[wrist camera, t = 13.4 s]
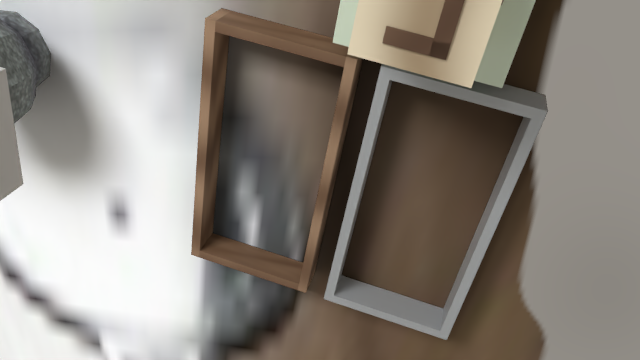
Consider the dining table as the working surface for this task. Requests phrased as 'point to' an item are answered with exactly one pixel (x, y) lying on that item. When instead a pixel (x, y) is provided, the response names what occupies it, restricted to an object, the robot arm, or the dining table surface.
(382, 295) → the tray grey
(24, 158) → the dining table surface
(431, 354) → the dining table surface
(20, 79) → the mortar and pestle
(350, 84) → the tray walnut
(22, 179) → the robot arm
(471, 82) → the letter cube
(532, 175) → the dining table surface
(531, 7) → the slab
